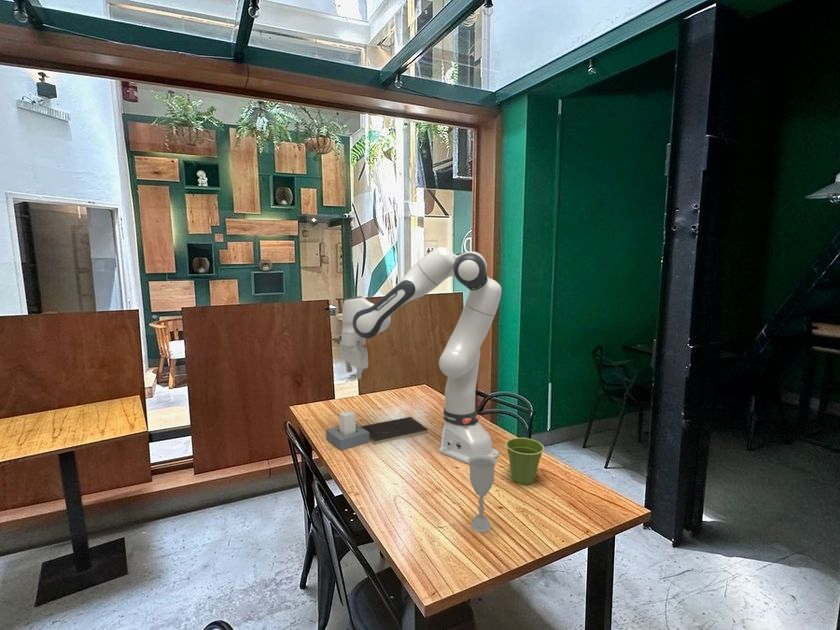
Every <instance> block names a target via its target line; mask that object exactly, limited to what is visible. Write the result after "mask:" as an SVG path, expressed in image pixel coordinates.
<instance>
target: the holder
mask: <svg viewBox="0 0 840 630" xmlns="http://www.w3.org/2000/svg"><path fill="white" fill-rule="evenodd" d="M355 424H356V432H355V433H351V434H348V435H343V434H341V433H340V432H339V426H335V427H332V428H327V429H325V440H326V441H327V442H329V444H331V445H332V446H334V447H335V448H336V447H337V450H339V449H340V450H342V451H345V450H348V449H351V448H355V447H358V446H361V445H366V444H368V443H370V439H369V432H368V431H367V430H365V429H363V428H362V427H360V426H361V425H358V424H357V423H355ZM344 449H345V450H344ZM340 450H339V451H340Z"/></svg>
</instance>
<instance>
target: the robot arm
mask: <svg viewBox="0 0 840 630" xmlns="http://www.w3.org/2000/svg"><path fill="white" fill-rule="evenodd" d="M487 270H488V264H487V260H486V259H485V257H484V255H482V254H481V253H480V252H478V251H474V250H472V251H471V250H470V251H465V252H461V253H460V252H459V253H456V254H455V253H454V252H453V251H452V250H450V249H449V248H447V247H445V246H438V247H436V248H434V249H433V250H431V251H430V252H428V253H427V254H425V255H424V256H423V257H422V258H420V259H419V260H418V261H417V262H416V263H415V264H414V265H412V267H411V268H410V269H409V270H408V271H407V272H406V273H405V274H404V275H403V277H402V278H401V280H399V282H398V283H397V284H396V285H395V286H394V287H393V288H392V289H390V291H388V293H386V294H385V295H384V296H383V297H382V298H380V299H379V300H378V301H377V302H376V303H372V302H371V301H370V300H367V298H366V297H364V296H362V295H361V296H352V297H348V298H346V299H344V301H343V305H342V312H341V314H342V315H341V316H342V317H341V321H342V330H341V334H338V341H339V355H340V358H341V360H344V364H345V367H346V372H347V373H352V372H353V367H355V369H356V372H355V374H354V376H355V378H356V379H357V380H360V379H362V373H363V371H364V370H366V369H368V367H369V355H368V353H369V352H368V349H367V347H366V346H365V345H366V344H367V339H372V338H374V337H375V336H376V335H378V334H379V333H382V332H383V331H385V330H386V329H388V328H389V327H390V325H391V322H392V316H391V315H392V314H394V313H395V312H396V311H397V310H398V309H400V308H401V307H402V306H404V305H406V303H409V302H411V301H413V300H416V299H419V298H422V297H424V296H426V295H427V294H429V293H430V292H432V291H433V290H435V289H436V288H437V287H438V286H439V285H441V284H442V283H443V282H444V281H445V280H447V279H448V278H450V277H455V278H456V280H457V281H458V282H459V283H460V284H462V285H463V286H464V287H466V288H467V289H468V290H469V292H468V296H467V298H466V301H465V303H464V305H463V308H462V311H461V313H460V316H459V319H458V321H457V324H456V326H455V328H454V330H453V332H452V334H451V335H450V337H449V339H448V341H447V343H446V345H445V347H444V349H443V351H442V353H441V355H440V357H439V359H438V368H439V370H440V371H441V373H442V374H443V375H444V376H446V377H447V380H446V384H445V388H444V408H443V420H444V423H443V426H442V432H441V439H440V443H439V444H440V445H439V448H438V452H439V453H440V454H443V455H445V456H448V457H450V458H453V459H456V460H458V461H461V462H463V463H465V464H468V465H470V464H469V462H468V459H469V457H471V456H474V455H487V456H491V457H493V458H495V459H497V458H498V457H499V455H500V452H499V450H497V449H496V448H494V447H493V440H492V438H491V435H490V434H489V431H487V430H486V429H485V428H484V427H483V426H482V424H481V423H480V421H479V419H481V414H478V411H477V409H476V389H477V388H476V387H477V383H478V382H477V381H478V375H479V369H480V368H479V367H480V359H481V347H482V345H483V343H484V341H485V338H487V335H488V333H489V331H490V327H491V326H492V323H493V320H494V318H495V316H496V314H497V310H498V308H499V305H500V300H501V297H502V296H501V295H502V292H503V291H502V286H501V285H500V284H499V282H497V280H494V279H493V278H490V277H489V276H488V274H487V273H488V271H487ZM352 366H353V367H352Z"/></svg>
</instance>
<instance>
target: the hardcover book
mask: <svg viewBox="0 0 840 630" xmlns="http://www.w3.org/2000/svg"><path fill="white" fill-rule="evenodd" d="M359 426H360V427H362V428H363V429H365V430H367V431H368V432H369V441H371V442H372V444H374V445H378V444H383V443H387V442H392V441H397V440H401V439H406V438H411V437H416V436H421V435H425V434H428V431H429V429H428V428H427V427H426V426H425V425H423V424H421V423H420V422H419V421H418V420H416V419H415V418H414V417H412V416H407V417H403V418H397V419H393V420H392V419H391V420H387V421H382V422H376V423H372V424H365V425H359Z"/></svg>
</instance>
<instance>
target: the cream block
mask: <svg viewBox="0 0 840 630" xmlns="http://www.w3.org/2000/svg"><path fill="white" fill-rule="evenodd" d="M338 422H339V423H338V425H339V426H338V427H339V432H340V433H341V434H343V435H348V434H351V433H355V432H356V424H357V423H356V413H355V412H353V411H352V410H346V411H342V412H341V411H340V412H338Z"/></svg>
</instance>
